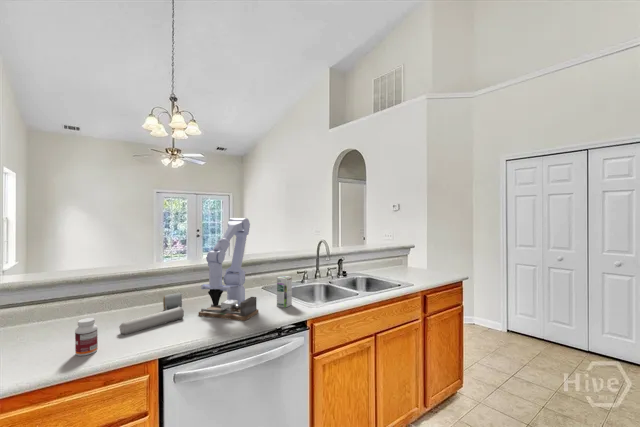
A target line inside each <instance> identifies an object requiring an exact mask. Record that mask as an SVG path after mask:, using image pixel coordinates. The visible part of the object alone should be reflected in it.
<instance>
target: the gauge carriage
mask: <svg viewBox="0 0 640 427" xmlns="http://www.w3.org/2000/svg"><path fill="white" fill-rule="evenodd" d="M220 305H221V310H222V311H221V312H223V311H232V312H233V311H235V310H237V309H240V305H238V300H229V299H228V300H227V299H226V300H224V301H222V302H221V303H220Z"/></svg>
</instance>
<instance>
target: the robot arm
mask: <svg viewBox="0 0 640 427" xmlns="http://www.w3.org/2000/svg"><path fill="white" fill-rule="evenodd" d="M250 228H251V223H250V220H249V218H247V217H244V218H243V217H239V218H238V217H230V218H229V219H228V222H227V228H226V231H225V233H224V235H223V237H222V238H218V240H217V243H216V244H215V245H214V246H213V249H212V250H210V251H208V252H207V254H206V262H207V266H208V271H209V274H208V275H209V277H208V279H209V280H208V283H209V284H208V283H206V284H204V283H203V284H201V286H200V288H201V290H209V291H208V292H207V294H208V296H210V299H211V302H212V304H213V306H217V305H220V298H222V295H223V293H224V292H226V293H227V294H226V300H228V299H229V300H238V305H240V302H242V301H244V300H246V288H245V286H244V284H245V282H246V271H245V270H244V269H243V268H242V266H243V259H244V254H245V247H246V242H247V236H248V235H249V233H250ZM234 236H235V237H236V238H235V243H234V244H235V245H234V249H233V253H232V259H231V264H230V266H229V267H228V268H227V269H226V270H225V273H224V275H223V263H224V261H225V260H226V258H225V257H226V254H227V253H226V252H228V249H229V247H230V244H231V243H230V241H231V240H232V238H233V237H234ZM223 283H224V284H223Z"/></svg>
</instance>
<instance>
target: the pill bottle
mask: <svg viewBox="0 0 640 427" xmlns="http://www.w3.org/2000/svg"><path fill="white" fill-rule="evenodd" d="M95 320H96V319H95V318H94V317H87V318H82V319H79V320H78V321H77V326H78V327H76V328H75V331H74V337H75V338H74V339H75V341H74V343H75V345H74V346H75V347H74V349H75V355H76V356H81V357H83V356H89V355H92V354H94V353H96V352H97V351H98V348H99V346H98V341H99V340H98V338H99V337H98V335H99V334H98V325H97V324H95V322H96V321H95Z"/></svg>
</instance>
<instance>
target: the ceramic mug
mask: <svg viewBox="0 0 640 427" xmlns="http://www.w3.org/2000/svg"><path fill="white" fill-rule="evenodd" d="M182 296H183V295H182V292H178V293H177V292H176V293H171V294H165V295H164V296H163V298H162V301H163V302H162V307H163V311H166V310H170V309H174V308H178V307H182V308H183V301H182V300H183V299H182Z"/></svg>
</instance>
